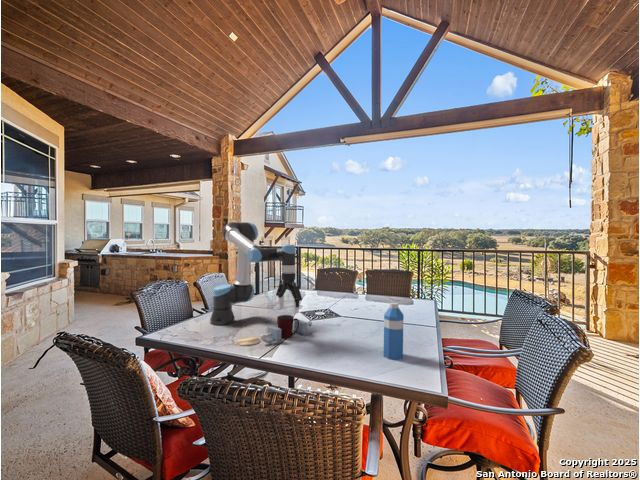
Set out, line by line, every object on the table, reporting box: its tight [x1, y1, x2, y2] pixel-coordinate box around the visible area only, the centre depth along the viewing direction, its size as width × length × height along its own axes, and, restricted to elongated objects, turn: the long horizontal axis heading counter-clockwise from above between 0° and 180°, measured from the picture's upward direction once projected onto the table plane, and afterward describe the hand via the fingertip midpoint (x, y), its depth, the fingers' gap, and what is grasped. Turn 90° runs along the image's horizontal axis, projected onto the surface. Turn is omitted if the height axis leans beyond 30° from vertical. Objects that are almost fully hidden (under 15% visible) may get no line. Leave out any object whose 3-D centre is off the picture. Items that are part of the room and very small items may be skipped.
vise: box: [259, 318, 313, 346], centre depth 166 cm, size 10×34×7 cm, turn 134°
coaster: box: [236, 336, 261, 347], centre depth 158 cm, size 12×12×1 cm
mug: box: [276, 314, 300, 340], centre depth 166 cm, size 12×9×11 cm
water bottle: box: [383, 302, 405, 361], centre depth 141 cm, size 9×9×25 cm
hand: (288, 310), depth 166 cm, fingers open, 13 cm apart
